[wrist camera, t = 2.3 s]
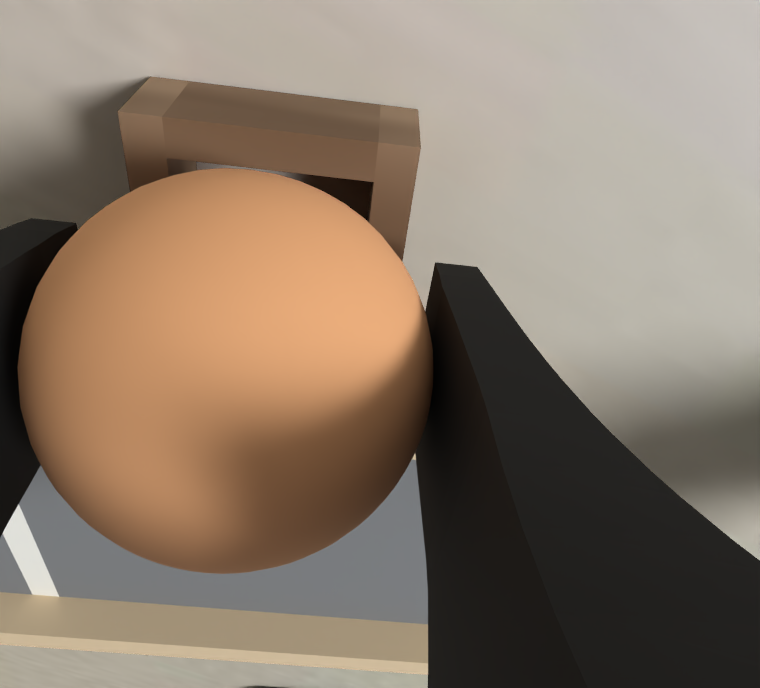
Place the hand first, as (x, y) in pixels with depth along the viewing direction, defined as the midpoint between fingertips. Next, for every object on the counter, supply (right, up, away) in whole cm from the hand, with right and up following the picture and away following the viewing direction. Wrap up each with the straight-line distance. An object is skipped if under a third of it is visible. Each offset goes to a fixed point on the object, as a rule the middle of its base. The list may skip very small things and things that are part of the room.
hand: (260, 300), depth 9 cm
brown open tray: (0, +2, +2) cm, 3 cm away
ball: (0, -1, -1) cm, 2 cm away
